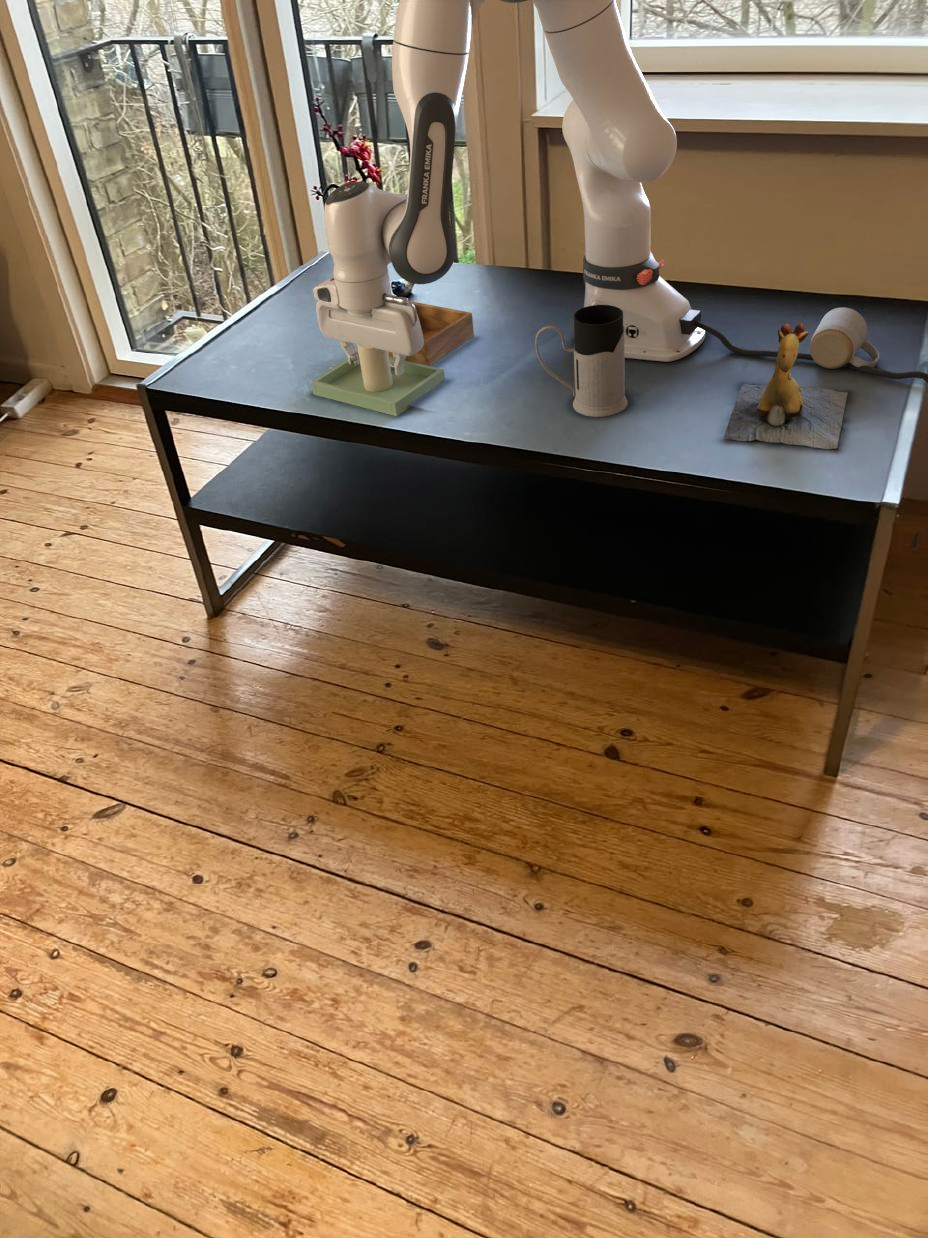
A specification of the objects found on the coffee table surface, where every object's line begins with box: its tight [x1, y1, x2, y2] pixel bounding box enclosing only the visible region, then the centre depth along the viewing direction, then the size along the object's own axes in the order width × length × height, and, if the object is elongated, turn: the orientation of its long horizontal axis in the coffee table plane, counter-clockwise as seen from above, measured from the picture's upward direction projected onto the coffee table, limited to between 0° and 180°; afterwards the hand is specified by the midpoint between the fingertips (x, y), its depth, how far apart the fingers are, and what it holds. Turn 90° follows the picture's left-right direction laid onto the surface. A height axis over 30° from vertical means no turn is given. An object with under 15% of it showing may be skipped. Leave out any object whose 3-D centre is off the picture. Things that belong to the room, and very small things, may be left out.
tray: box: [310, 357, 446, 417], centre depth 179 cm, size 19×14×2 cm
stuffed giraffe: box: [723, 322, 848, 450], centre depth 154 cm, size 16×18×16 cm
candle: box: [356, 344, 393, 392], centre depth 177 cm, size 5×5×8 cm
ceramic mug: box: [809, 307, 881, 370], centre depth 168 cm, size 11×8×8 cm
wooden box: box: [388, 301, 475, 367], centre depth 190 cm, size 14×14×5 cm
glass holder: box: [534, 305, 628, 418], centre depth 163 cm, size 9×14×15 cm, turn 89°
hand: (376, 368), depth 178 cm, fingers open, 8 cm apart
